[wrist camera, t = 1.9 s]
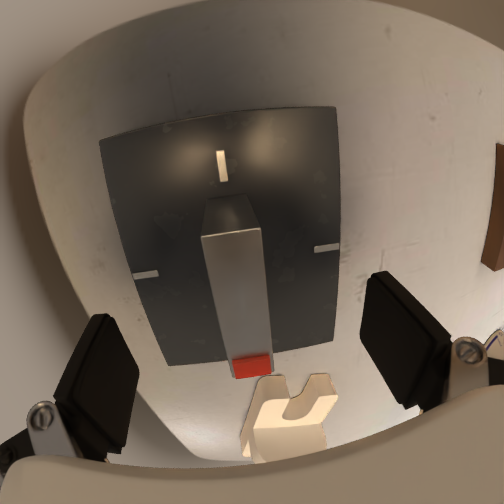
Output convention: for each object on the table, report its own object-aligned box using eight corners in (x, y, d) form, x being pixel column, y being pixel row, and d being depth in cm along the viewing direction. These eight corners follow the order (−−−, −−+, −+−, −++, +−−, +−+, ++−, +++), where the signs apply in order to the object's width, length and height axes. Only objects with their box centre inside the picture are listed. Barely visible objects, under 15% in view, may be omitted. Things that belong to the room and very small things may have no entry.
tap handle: (206, 199, 12) (199, 239, 8) (246, 193, 12) (262, 230, 8) (227, 315, 15) (233, 382, 11) (260, 310, 15) (275, 376, 11)
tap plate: (119, 137, 13) (96, 140, 10) (315, 110, 14) (338, 106, 11) (172, 336, 19) (167, 368, 16) (320, 314, 20) (334, 342, 17)
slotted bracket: (294, 436, 28) (307, 487, 21) (239, 439, 27) (246, 494, 20) (332, 373, 23) (360, 441, 16) (259, 375, 22) (275, 454, 15)
